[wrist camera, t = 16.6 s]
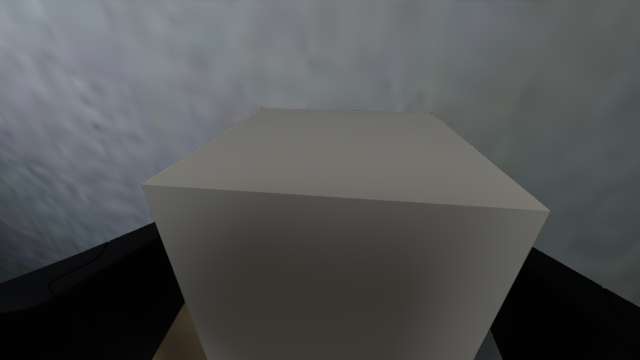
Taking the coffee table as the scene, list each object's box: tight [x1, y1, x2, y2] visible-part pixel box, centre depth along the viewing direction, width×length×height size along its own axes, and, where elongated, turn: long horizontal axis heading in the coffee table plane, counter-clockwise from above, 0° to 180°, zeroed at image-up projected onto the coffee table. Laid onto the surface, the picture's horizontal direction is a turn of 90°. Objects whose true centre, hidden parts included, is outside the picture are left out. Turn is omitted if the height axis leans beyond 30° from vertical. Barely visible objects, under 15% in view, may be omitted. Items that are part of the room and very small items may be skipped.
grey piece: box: [141, 108, 550, 360], centre depth 8 cm, size 7×7×6 cm
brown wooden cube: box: [152, 302, 207, 360], centre depth 14 cm, size 4×4×4 cm
